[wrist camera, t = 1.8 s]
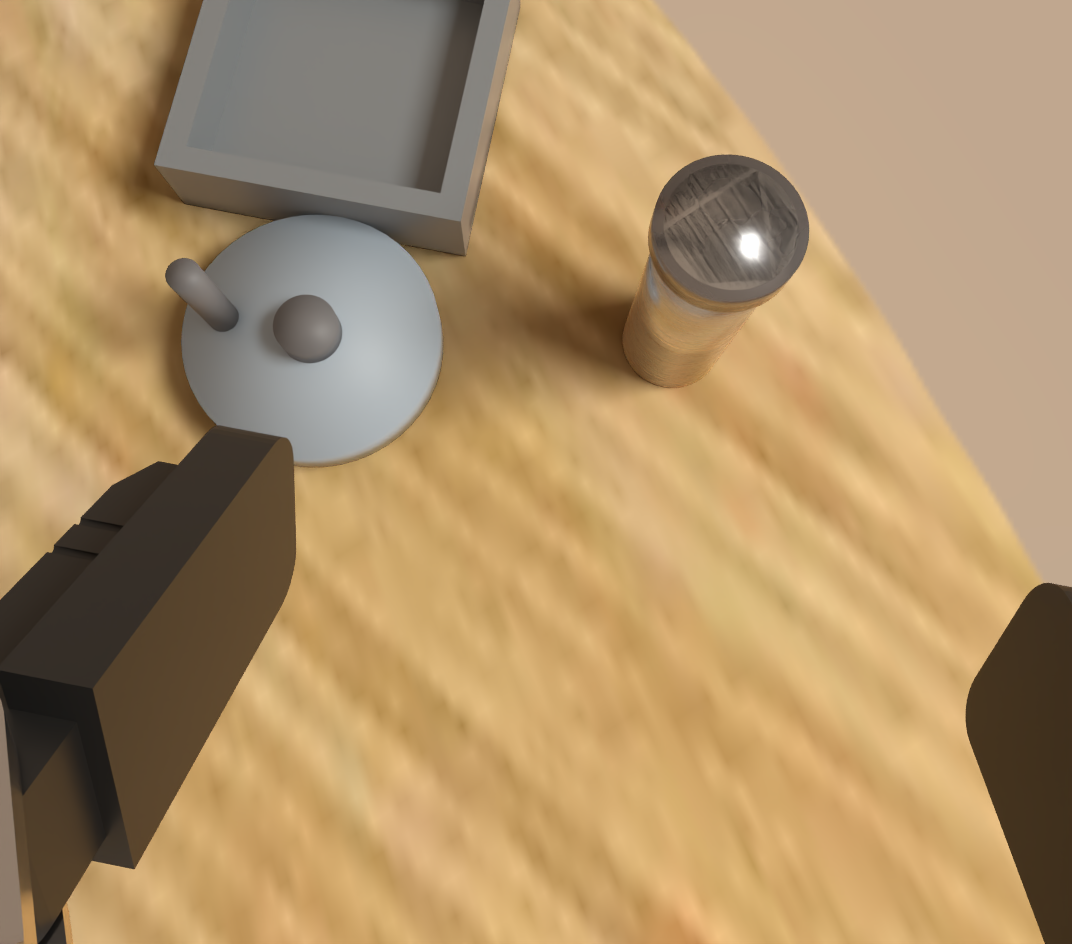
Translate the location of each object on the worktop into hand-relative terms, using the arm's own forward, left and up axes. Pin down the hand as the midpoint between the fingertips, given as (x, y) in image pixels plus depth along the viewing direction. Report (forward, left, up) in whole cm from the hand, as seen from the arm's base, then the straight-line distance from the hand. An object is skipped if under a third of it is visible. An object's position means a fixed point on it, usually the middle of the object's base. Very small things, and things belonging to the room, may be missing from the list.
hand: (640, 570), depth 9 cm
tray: (-12, +20, -24) cm, 33 cm away
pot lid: (-11, +9, -24) cm, 28 cm away
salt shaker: (+3, +12, -24) cm, 27 cm away
